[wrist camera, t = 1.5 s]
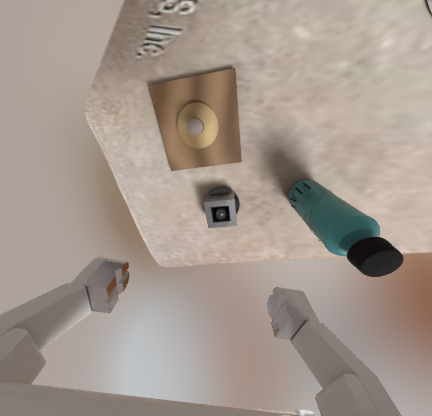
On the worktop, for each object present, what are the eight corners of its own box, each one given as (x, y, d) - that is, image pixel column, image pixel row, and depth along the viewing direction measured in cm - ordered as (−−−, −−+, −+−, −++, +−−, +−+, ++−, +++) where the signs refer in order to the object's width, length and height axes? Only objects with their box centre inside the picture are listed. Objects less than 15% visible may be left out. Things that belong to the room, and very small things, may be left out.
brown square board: (234, 70, 25) (237, 55, 20) (240, 160, 31) (243, 167, 26) (151, 86, 27) (132, 77, 21) (173, 169, 33) (162, 177, 28)
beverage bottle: (298, 170, 32) (388, 228, 14) (324, 185, 33) (440, 256, 15) (278, 197, 34) (332, 273, 17) (302, 210, 35) (378, 294, 18)
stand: (237, 185, 34) (239, 194, 29) (240, 217, 37) (242, 229, 33) (201, 189, 35) (197, 198, 30) (207, 220, 38) (204, 232, 34)
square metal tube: (233, 191, 34) (234, 199, 30) (236, 215, 36) (237, 225, 33) (205, 194, 34) (203, 202, 31) (210, 218, 37) (208, 227, 33)
